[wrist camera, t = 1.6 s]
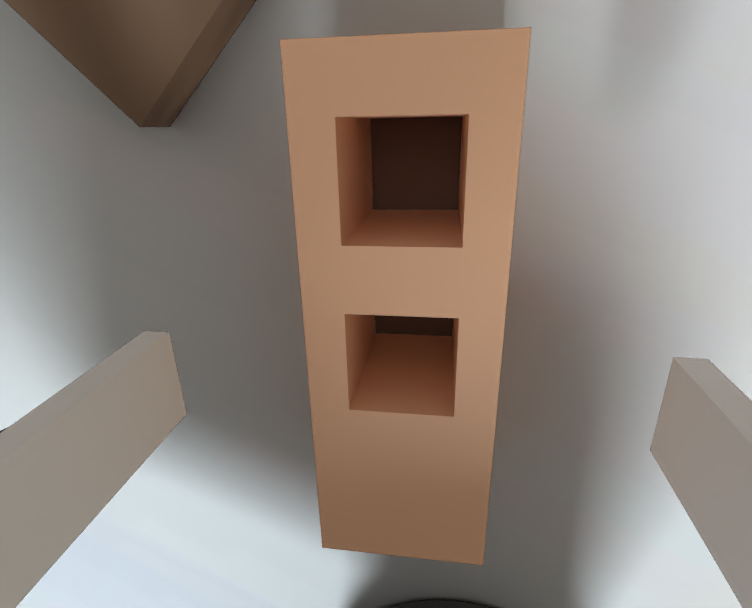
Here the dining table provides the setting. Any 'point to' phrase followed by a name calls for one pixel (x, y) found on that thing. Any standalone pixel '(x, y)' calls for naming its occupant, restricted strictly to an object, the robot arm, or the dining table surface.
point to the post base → (139, 46)
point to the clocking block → (404, 284)
